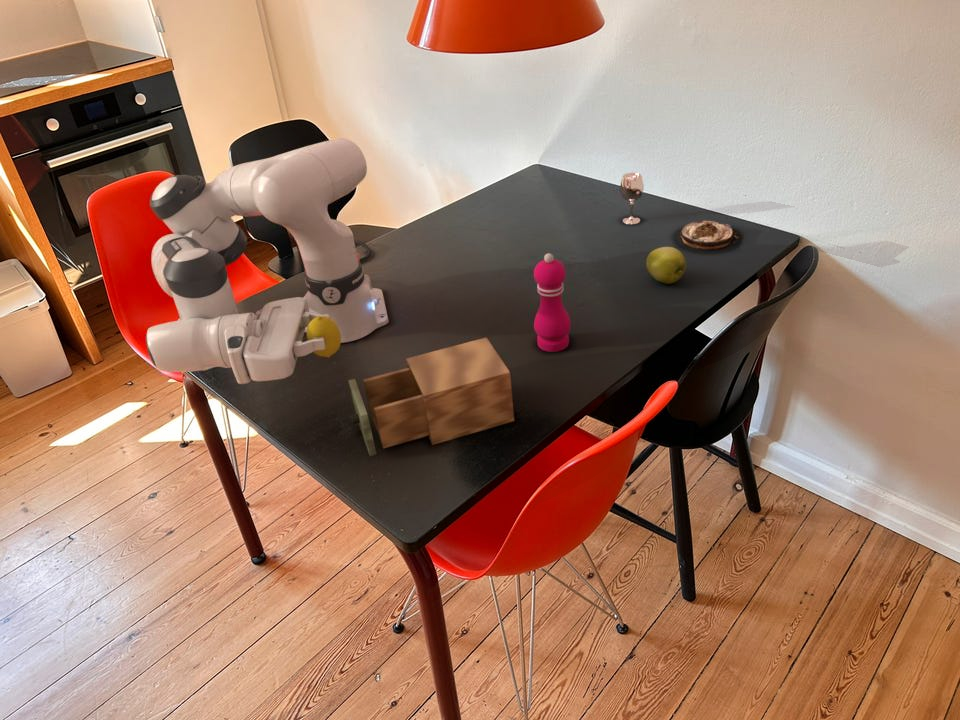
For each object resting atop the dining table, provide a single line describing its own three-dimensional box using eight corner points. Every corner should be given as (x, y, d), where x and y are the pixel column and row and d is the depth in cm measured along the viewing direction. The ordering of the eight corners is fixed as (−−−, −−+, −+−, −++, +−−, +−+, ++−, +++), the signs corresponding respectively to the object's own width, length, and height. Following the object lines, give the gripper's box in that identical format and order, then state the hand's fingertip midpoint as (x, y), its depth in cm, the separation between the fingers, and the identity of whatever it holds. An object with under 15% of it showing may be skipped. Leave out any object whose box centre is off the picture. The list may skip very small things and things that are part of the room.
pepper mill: (568, 332, 156) (565, 243, 145) (573, 351, 150) (570, 260, 139) (533, 335, 157) (527, 247, 145) (537, 355, 151) (531, 264, 139)
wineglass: (616, 218, 199) (616, 174, 192) (636, 214, 200) (637, 170, 193) (626, 227, 194) (626, 182, 187) (646, 222, 195) (648, 177, 189)
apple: (671, 294, 165) (673, 261, 160) (638, 281, 171) (639, 249, 166) (694, 281, 169) (696, 248, 164) (661, 268, 175) (663, 236, 170)
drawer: (362, 458, 129) (352, 417, 124) (351, 421, 137) (341, 382, 133) (449, 433, 132) (442, 393, 127) (431, 399, 141) (425, 359, 136)
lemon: (341, 365, 128) (332, 324, 123) (309, 367, 128) (298, 326, 124) (347, 346, 132) (338, 306, 128) (315, 348, 133) (305, 309, 128)
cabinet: (432, 445, 131) (423, 395, 125) (414, 405, 141) (405, 358, 135) (514, 421, 135) (510, 372, 129) (491, 384, 144) (486, 337, 138)
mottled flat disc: (723, 259, 176) (725, 242, 174) (664, 246, 185) (665, 230, 182) (749, 234, 185) (751, 218, 183) (691, 222, 194) (692, 207, 191)
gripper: (262, 323, 138) (338, 315, 138) (237, 390, 121) (323, 382, 121) (253, 292, 134) (331, 284, 134) (226, 357, 117) (315, 348, 117)
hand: (327, 331), depth 127 cm, fingers closed on lemon, 5 cm apart
